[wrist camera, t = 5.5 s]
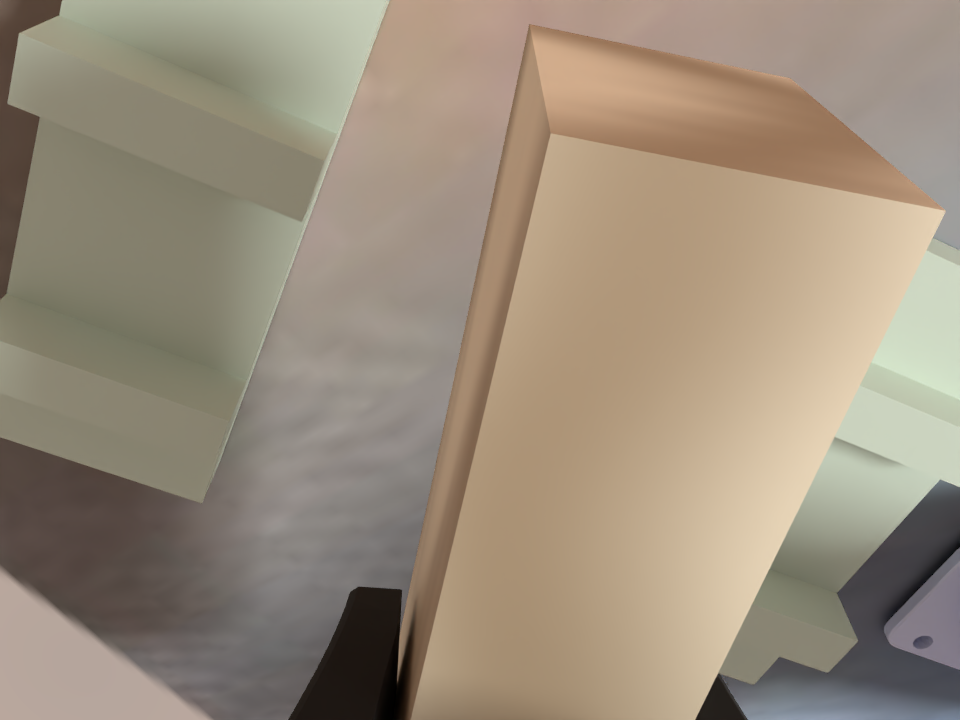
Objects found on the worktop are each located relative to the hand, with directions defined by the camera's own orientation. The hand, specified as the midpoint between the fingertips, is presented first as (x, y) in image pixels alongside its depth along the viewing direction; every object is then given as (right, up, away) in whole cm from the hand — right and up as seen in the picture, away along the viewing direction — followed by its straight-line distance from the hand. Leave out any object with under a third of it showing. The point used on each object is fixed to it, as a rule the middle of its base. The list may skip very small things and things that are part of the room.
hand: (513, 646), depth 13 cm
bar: (0, +1, +1) cm, 2 cm away
